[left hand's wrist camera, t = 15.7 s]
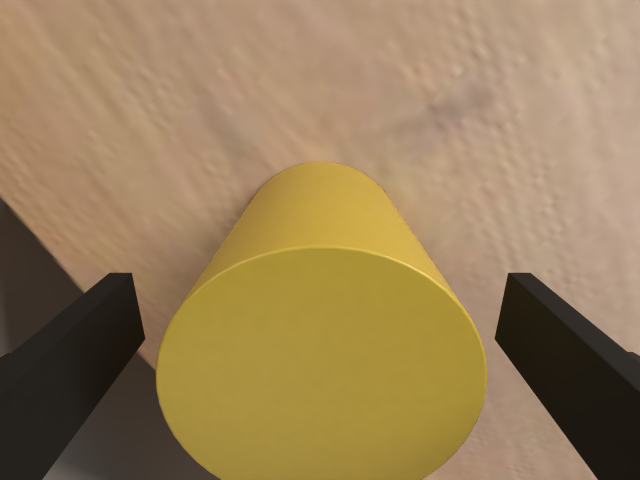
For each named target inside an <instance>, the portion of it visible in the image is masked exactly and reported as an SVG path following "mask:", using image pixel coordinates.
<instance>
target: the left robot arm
mask: <svg viewBox="0 0 640 480" xmlns="http://www.w3.org/2000/svg"><path fill="white" fill-rule="evenodd" d="M144 340H145V335H144V330H143V325H142V321H141V316H140V311H139V306H138V301H137V296H136V291H135V287H134V282H133V277H132V273H109V274H108V275H106V276H105V277H104V278H103V279H102V280H100V281H99V282H98V283H97V284H95V285H94V286H93V287H92V288H91V289H89V290H88V291H87V292H86V293H84V294H83V295H82V296H81V297H80V298H78V299H77V300H76V301H75V302H73V303H72V304H71V305H70V306H68V307H67V308H66V309H65V310H64V311H62V312H61V313H60V314H59V315H57V316H56V317H55V318H54V319H53V320H51V321H50V322H49V323H48V324H46V325H45V326H44V327H43V328H42V329H40V330H39V331H38V332H37V333H35V334H34V335H33V336H32V337H30V338H29V339H28V340H27V341H26V342H24V343H23V344H22V345H21V346H19V347H18V348H17V349H16V350H15V351H13V352H12V353H8V354H6V355H4V356H2V357H0V480H42V479H43V478H44V476H45V475H46V474H47V472H48V471H49V469H50V468H51V467H52V465H53V464H54V463H55V461H56V460H57V459H58V457H59V456H60V454H61V453H62V452H63V450H64V449H65V448H66V446H67V445H68V444H69V442H70V441H71V440H72V438H73V437H74V435H75V434H76V433H77V431H78V430H79V429H80V427H81V426H82V425H83V423H84V422H85V420H86V419H87V418H88V416H89V415H90V414H91V412H92V411H93V410H94V408H95V407H96V405H97V404H98V403H99V401H100V400H101V399H102V397H103V396H104V395H105V393H106V392H107V390H108V389H109V388H110V386H111V385H112V384H113V382H114V381H115V380H116V378H117V377H118V375H119V374H120V373H121V371H122V370H123V369H124V367H125V366H126V365H127V363H128V362H129V361H130V359H131V358H132V356H133V355H134V354H135V352H136V351H137V350H138V348H139V347H140V346H141V344H142V343H143V341H144ZM495 340H496V341H497V343H498V344H499V346H500V347H501V348H502V350H503V351H504V352H505V354H506V355H507V356H508V358H509V359H510V361H511V362H512V363H513V365H514V366H515V367H516V369H517V370H518V371H519V373H520V374H521V376H522V377H523V378H524V380H525V381H526V382H527V384H528V385H529V386H530V388H531V389H532V390H533V392H534V393H535V395H536V396H537V397H538V399H539V400H540V401H541V403H542V404H543V405H544V407H545V408H546V410H547V411H548V412H549V414H550V415H551V416H552V418H553V419H554V420H555V422H556V423H557V425H558V426H559V427H560V429H561V430H562V431H563V433H564V434H565V435H566V437H567V438H568V440H569V441H570V442H571V444H572V445H573V446H574V448H575V449H576V450H577V452H578V453H579V454H580V456H581V457H582V459H583V460H584V461H585V463H586V464H587V465H588V467H589V468H590V469H591V471H592V472H593V474H594V475H595V476H596V478H597V479H598V480H640V356H639V355H637V354H635V353H633V352H627V351H625V350H624V349H623V348H622V347H621V346H619V345H618V344H617V343H616V342H614V341H613V340H612V339H611V338H610V337H608V336H607V335H606V334H605V333H603V332H602V331H601V330H600V329H598V328H597V327H596V326H595V325H594V324H592V323H591V322H590V321H589V320H587V319H586V318H585V317H584V316H583V315H581V314H580V313H579V312H578V311H576V310H575V309H574V308H573V307H572V306H570V305H569V304H568V303H567V302H565V301H564V300H563V299H562V298H561V297H559V296H558V295H557V294H556V293H554V292H553V291H552V290H551V289H549V288H548V287H547V286H546V285H545V284H543V283H542V282H541V281H540V280H538V279H537V278H536V277H535V276H534V275H532V274H531V273H508V277H507V282H506V287H505V291H504V296H503V301H502V306H501V311H500V316H499V320H498V325H497V330H496V335H495Z"/></svg>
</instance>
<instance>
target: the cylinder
mask: <svg viewBox="0 0 640 480" xmlns="http://www.w3.org/2000/svg"><path fill="white" fill-rule="evenodd" d="M486 384H487V366H486V357H485V352H484V348H483V345H482V342H481V338H480V335H479V333H478V331H477V329H476V327H475V325H474V323H473V321H472V319H471V318H470V316H469V315H468V313H467V312H466V310H465V309H464V307H463V306H462V305H461V303H460V302H459V300H458V299H457V297H456V296H455V294H454V293H453V291H452V290H451V288H450V287H449V286H448V284H447V283H446V281H445V280H444V278H443V277H442V275H441V274H440V272H439V271H438V270H437V268H436V267H435V265H434V264H433V262H432V261H431V259H430V258H429V256H428V255H427V253H426V252H425V251H424V249H423V248H422V246H421V245H420V243H419V242H418V240H417V239H416V237H415V236H414V235H413V233H412V232H411V230H410V229H409V227H408V226H407V224H406V223H405V221H404V220H403V218H402V217H401V216H400V214H399V213H398V211H397V210H396V208H395V207H394V205H393V204H392V202H391V201H390V200H389V198H388V197H387V195H386V194H385V192H384V191H383V190H382V189H381V188H380V187H379V186H378V185H377V183H375V182H374V181H373V180H372V179H370V178H369V177H368V176H366V175H365V174H363V173H361V172H360V171H358V170H355V169H353V168H351V167H348V166H345V165H341V164H337V163H330V162H312V163H305V164H301V165H297V166H294V167H291V168H289V169H286V170H284V171H282V172H281V173H279V174H277V175H275V176H274V177H273V178H271V179H270V180H269V181H268V182H266V183H265V184H264V185H263V186H262V188H261V189H260V190H259V191H258V192H257V194H256V195H255V196H254V198H253V199H252V201H251V202H250V204H249V205H248V207H247V208H246V209H245V211H244V212H243V214H242V215H241V217H240V218H239V220H238V221H237V223H236V224H235V226H234V227H233V229H232V230H231V232H230V233H229V235H228V236H227V237H226V239H225V240H224V242H223V243H222V245H221V246H220V248H219V249H218V251H217V252H216V254H215V255H214V257H213V258H212V260H211V261H210V263H209V264H208V265H207V267H206V268H205V270H204V271H203V273H202V274H201V276H200V277H199V279H198V280H197V282H196V283H195V285H194V286H193V288H192V289H191V291H190V292H189V293H188V295H187V296H186V298H185V299H184V301H183V302H182V304H181V305H180V307H179V308H178V310H177V311H176V313H175V314H174V316H173V317H172V319H171V321H170V323H169V325H168V327H167V329H166V331H165V333H164V335H163V338H162V341H161V344H160V347H159V351H158V357H157V364H156V389H157V393H158V399H159V404H160V406H161V409H162V412H163V415H164V418H165V420H166V422H167V424H168V426H169V427H170V429H171V431H172V433H173V435H174V436H175V437H176V439H177V440H178V441H179V443H180V444H181V445H182V447H183V448H184V449H185V450H186V451H187V452H188V453H189V454H190V455H191V456H192V457H193V459H194V460H195V461H197V462H198V463H199V464H200V465H202V466H203V467H204V468H205V469H206V470H208V471H209V472H210V473H212V474H214V475H215V476H217V477H218V478H220V479H221V480H421V479H423V478H425V477H426V476H428V475H429V474H431V473H432V472H434V471H435V470H436V469H437V468H439V467H440V466H441V465H443V464H444V463H445V462H446V461H447V460H448V459H449V458H450V457H451V456H452V455H453V454H454V453H455V452H456V451H457V450H458V449H459V448H460V446H461V445H462V444H463V442H464V441H465V440H466V439H467V437H468V436H469V434H470V432H471V431H472V429H473V427H474V425H475V424H476V422H477V419H478V417H479V414H480V412H481V409H482V406H483V402H484V398H485V393H486Z"/></svg>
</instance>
